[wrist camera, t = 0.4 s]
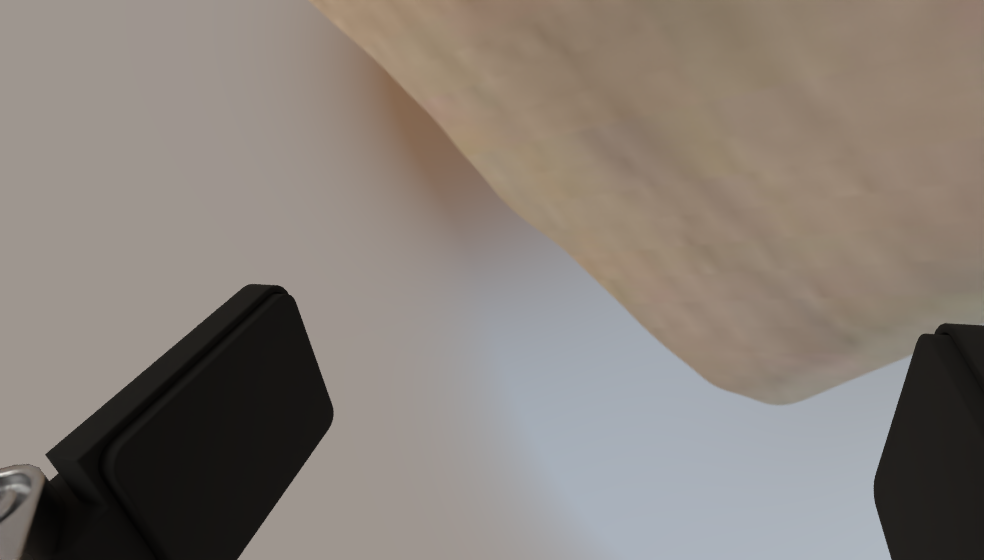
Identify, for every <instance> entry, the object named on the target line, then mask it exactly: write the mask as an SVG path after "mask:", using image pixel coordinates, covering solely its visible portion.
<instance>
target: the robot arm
mask: <svg viewBox="0 0 984 560" xmlns="http://www.w3.org/2000/svg"><path fill="white" fill-rule="evenodd" d="M332 420H333V406H332V403H331V401H330V398H329V395H328V392H327V389H326V386H325V383H324V381H323V378H322V375H321V372H320V369H319V366H318V363H317V361H316V358H315V355H314V352H313V349H312V347H311V344H310V341H309V338H308V335H307V333H306V330H305V327H304V324H303V321H302V319H301V315H300V313H299V310H298V307H297V304H296V302H295V300H294V298H293V297H292V296H291V295H289V294H288V292H287V291H286V290H285V289H284V288H283V287H281V286H278V285H261V284H250V285H247V286H245V287H243V288H242V289H241V290H240V291H238V292H237V293H236V294H235V295H234V296H233V297H231V298H230V299H229V300H228V301H227V302H225V303H224V304H223V305H222V306H221V307H219V308H218V309H217V310H216V311H215V312H214V313H212V314H211V315H210V316H209V317H208V318H206V319H205V320H204V321H203V322H202V323H200V324H199V325H198V326H197V327H196V328H195V329H193V330H192V331H191V332H190V333H189V334H188V335H186V336H185V337H184V338H183V339H182V340H180V341H179V342H178V343H177V344H176V345H175V346H173V347H172V348H171V349H170V350H168V351H167V352H166V353H165V354H164V355H163V356H161V357H160V358H159V359H158V360H157V361H156V362H154V363H153V364H152V365H151V366H150V367H148V368H147V369H146V370H145V371H144V372H142V373H141V374H140V375H139V376H138V377H137V378H135V379H134V380H133V381H132V382H131V383H129V384H128V385H127V386H126V387H125V388H123V389H122V390H121V391H120V392H119V393H118V394H116V395H115V396H114V397H113V398H112V399H110V400H109V401H108V402H107V403H106V404H104V405H103V406H102V407H101V408H100V409H99V410H97V411H96V412H95V413H94V414H93V415H91V416H90V417H89V418H88V419H87V420H85V421H84V422H83V423H82V424H81V425H80V426H78V427H77V428H76V429H75V430H74V431H72V432H71V433H70V434H69V435H68V436H67V437H65V438H64V439H63V440H62V441H61V442H59V443H58V444H57V445H56V446H55V447H54V448H52V449H51V450H50V451H49V452H48V453H47V454H46V456H47V458H48V459H49V460H50V462H51V463H52V464H53V466H54V467H55V468H56V470H57V471H58V474H57V475H56V476H55V477H54V478H53V479H52V480H50V481H49V480H48V479H47V477H46V476H45V475H44V473H43V472H42V471H41V469H40V468H39V467H36V466H33V465H30V464H26V465H25V464H23V465H12V466H9V467H5V468H1V469H0V560H237V559H238V558H239V556H240V555H241V553H242V552H243V550H244V548H245V547H246V546H247V545H248V543H249V542H250V540H251V539H252V537H253V536H254V535H255V533H256V532H257V530H258V529H259V528H260V526H261V525H262V523H263V522H264V520H265V519H266V518H267V516H268V515H269V513H270V512H271V510H272V509H273V508H274V506H275V505H276V503H277V502H278V500H279V499H280V498H281V496H282V495H283V493H284V492H285V491H286V489H287V488H288V486H289V485H290V483H291V482H292V481H293V479H294V477H295V476H296V475H297V473H298V472H299V471H300V469H301V468H302V466H303V465H304V463H305V462H306V461H307V459H308V458H309V456H310V455H311V453H312V452H313V451H314V449H315V448H316V446H317V445H318V444H319V442H320V441H321V439H322V438H323V436H324V435H325V434H326V432H327V431H328V429H329V427H330V426H331V423H332ZM874 499H875V504H876V508H877V511H878V515H879V518H880V522H881V525H882V529H883V532H884V535H885V539H886V542H887V545H888V549H889V552H890V555H891V559H892V560H984V326H982V325H965V324H947V323H945V324H942V325H940V326H939V327H938V328H937V330H936V331H935V334H922V335H921V336H920V337H919V339H918V341H917V343H916V346H915V350H914V353H913V356H912V359H911V362H910V366H909V369H908V372H907V375H906V379H905V382H904V385H903V388H902V392H901V395H900V398H899V401H898V404H897V408H896V411H895V414H894V417H893V420H892V424H891V427H890V430H889V433H888V437H887V440H886V443H885V446H884V449H883V453H882V456H881V459H880V462H879V465H878V469H877V472H876V475H875V480H874Z"/></svg>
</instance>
